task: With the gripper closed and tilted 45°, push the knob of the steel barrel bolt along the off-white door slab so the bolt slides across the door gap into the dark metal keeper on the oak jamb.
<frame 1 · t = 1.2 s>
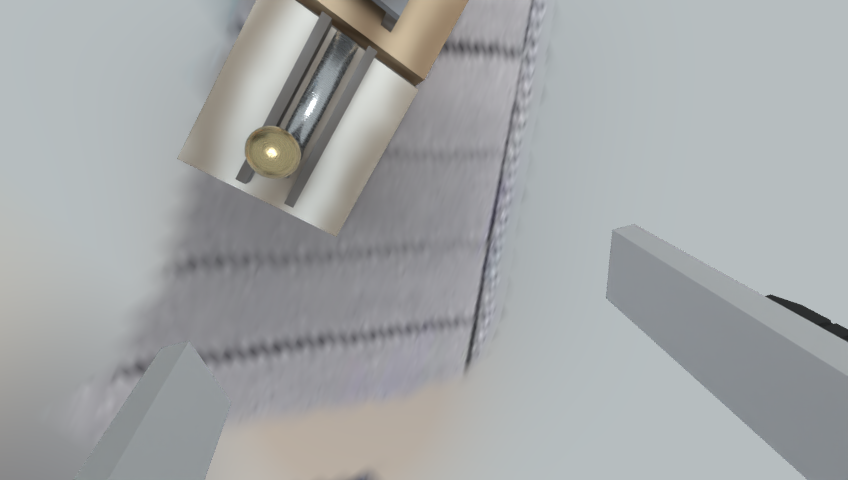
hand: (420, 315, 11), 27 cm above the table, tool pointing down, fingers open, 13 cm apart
bolt: (309, 100, 24), point 10 cm above the table, slide at 0.0 cm
door and jamb: (343, 56, 33), on the table
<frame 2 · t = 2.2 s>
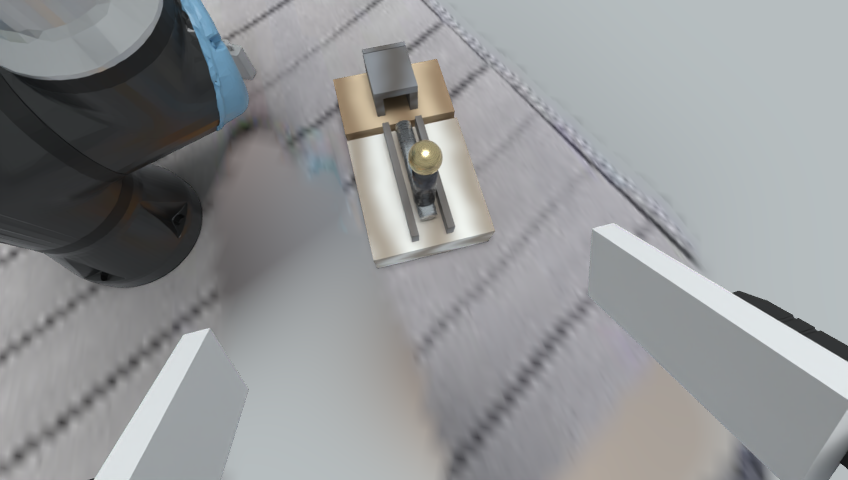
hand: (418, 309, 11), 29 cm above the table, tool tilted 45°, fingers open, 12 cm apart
bolt: (414, 146, 35), point 10 cm above the table, slide at 0.0 cm
lighter: (232, 72, 50), on the table
door and jamb: (404, 150, 46), on the table
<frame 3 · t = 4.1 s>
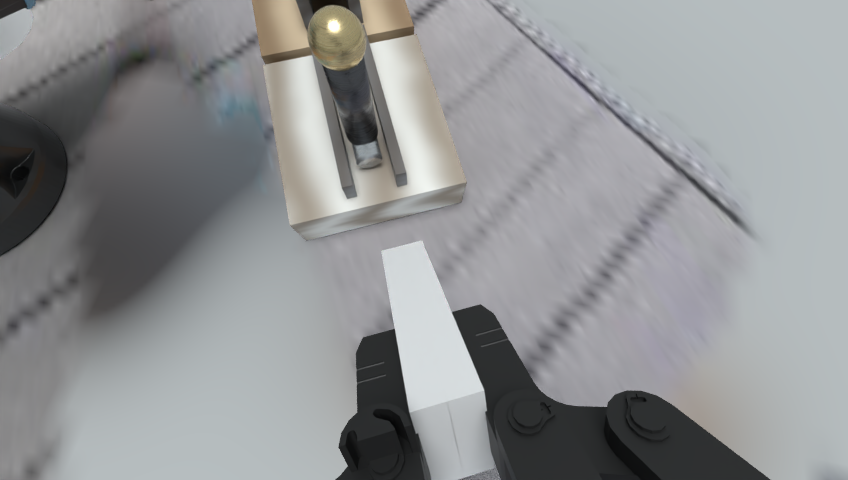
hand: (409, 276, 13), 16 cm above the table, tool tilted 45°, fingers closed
bolt: (340, 48, 23), point 10 cm above the table, slide at 0.0 cm
door and jamb: (350, 85, 35), on the table
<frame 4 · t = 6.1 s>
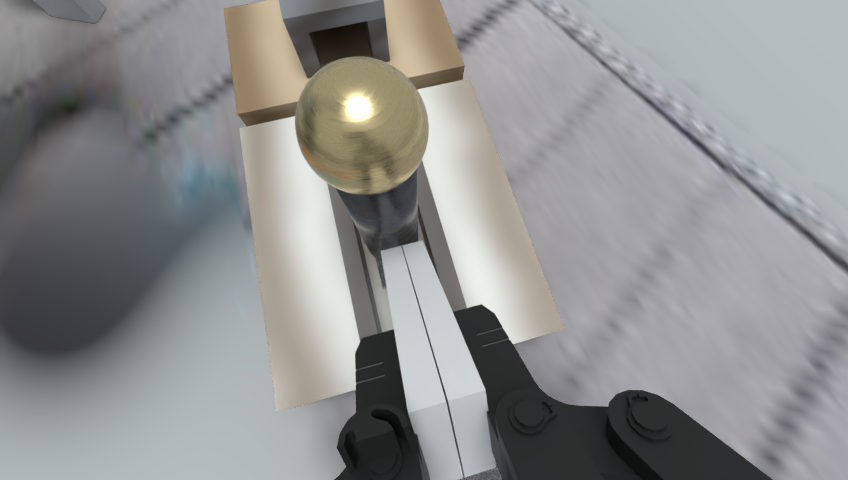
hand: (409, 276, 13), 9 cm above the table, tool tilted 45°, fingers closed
bolt: (359, 109, 13), point 10 cm above the table, slide at 1.0 cm, touching gripper
lighter: (63, 11, 28), on the table
door and jamb: (369, 146, 24), on the table
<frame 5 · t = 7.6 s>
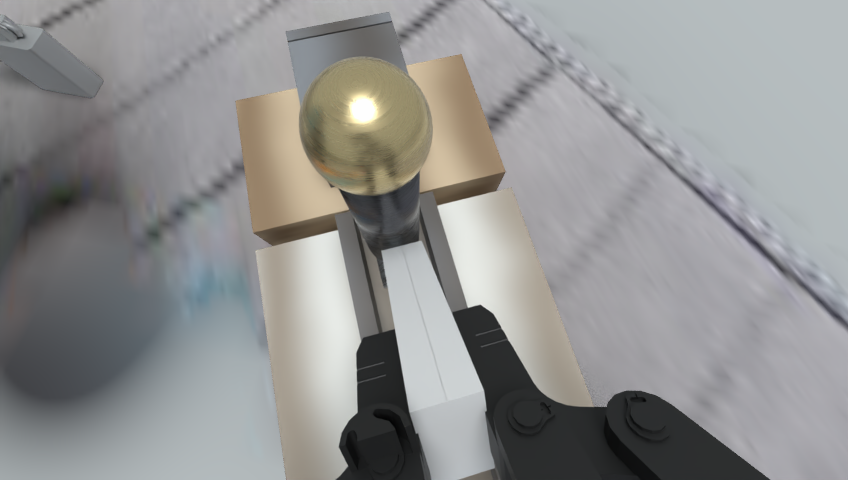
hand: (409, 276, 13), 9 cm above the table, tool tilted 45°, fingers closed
bolt: (360, 109, 13), point 10 cm above the table, slide at 8.7 cm, touching gripper
lighter: (56, 82, 26), on the table
door and jamb: (395, 247, 22), on the table
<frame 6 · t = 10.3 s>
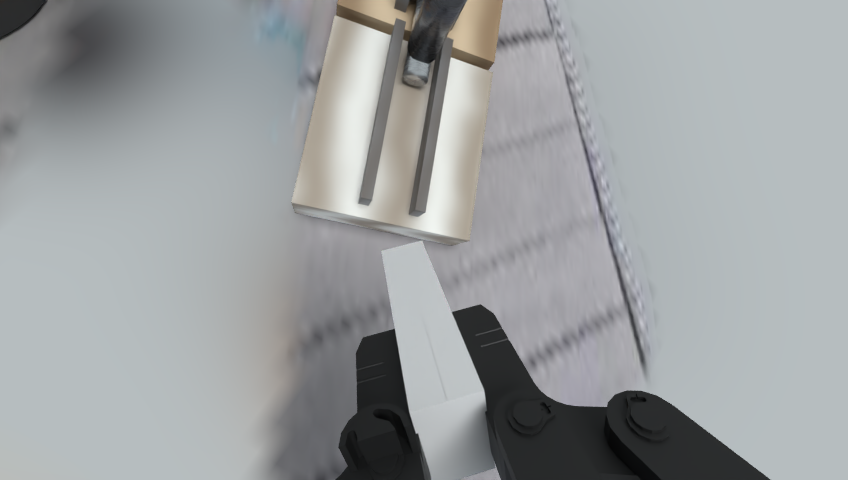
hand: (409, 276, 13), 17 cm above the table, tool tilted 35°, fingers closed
door and jamb: (406, 77, 33), on the table
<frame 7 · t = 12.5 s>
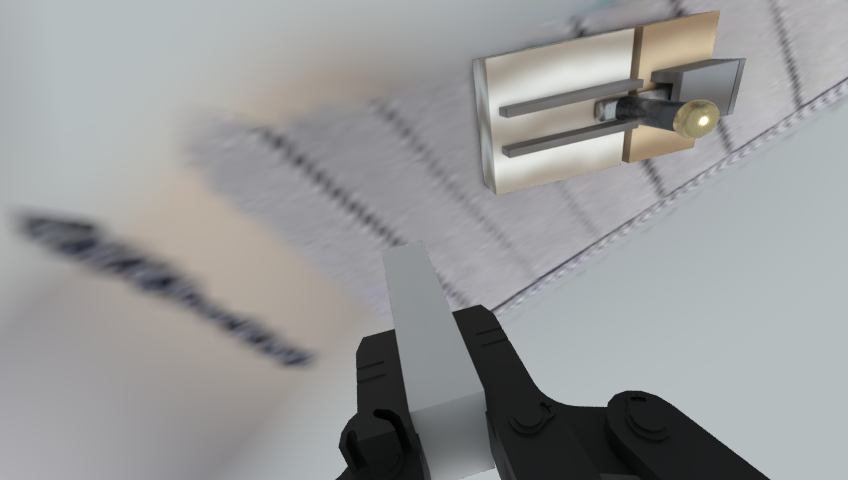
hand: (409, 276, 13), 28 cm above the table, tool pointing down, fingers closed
bolt: (693, 104, 32), point 10 cm above the table, slide at 8.5 cm
door and jamb: (599, 100, 41), on the table
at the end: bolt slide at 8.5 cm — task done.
